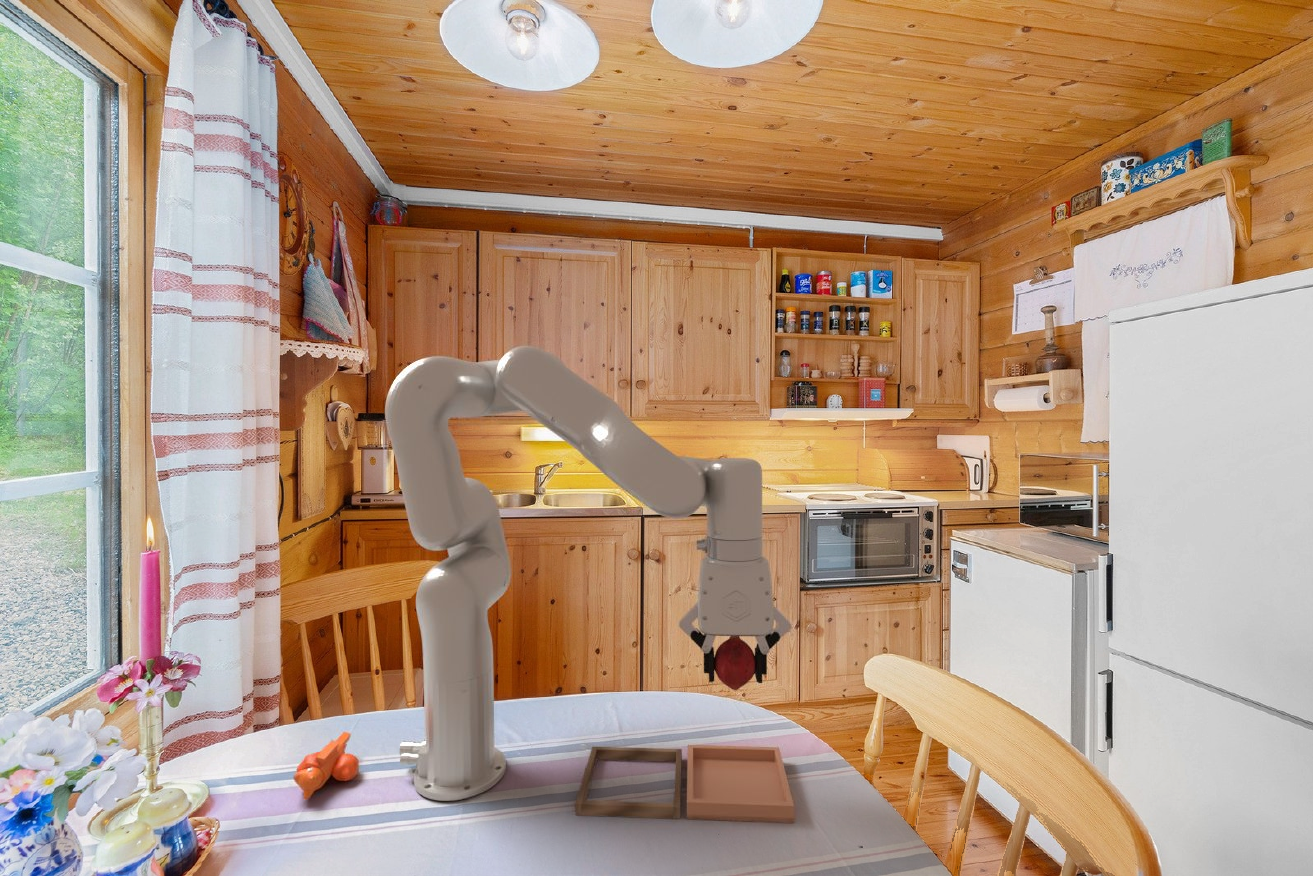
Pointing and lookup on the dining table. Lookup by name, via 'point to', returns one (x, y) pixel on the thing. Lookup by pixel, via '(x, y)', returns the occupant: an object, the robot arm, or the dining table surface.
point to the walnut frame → (621, 806)
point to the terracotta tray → (737, 784)
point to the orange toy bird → (326, 766)
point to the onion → (734, 663)
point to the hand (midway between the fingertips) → (734, 677)
